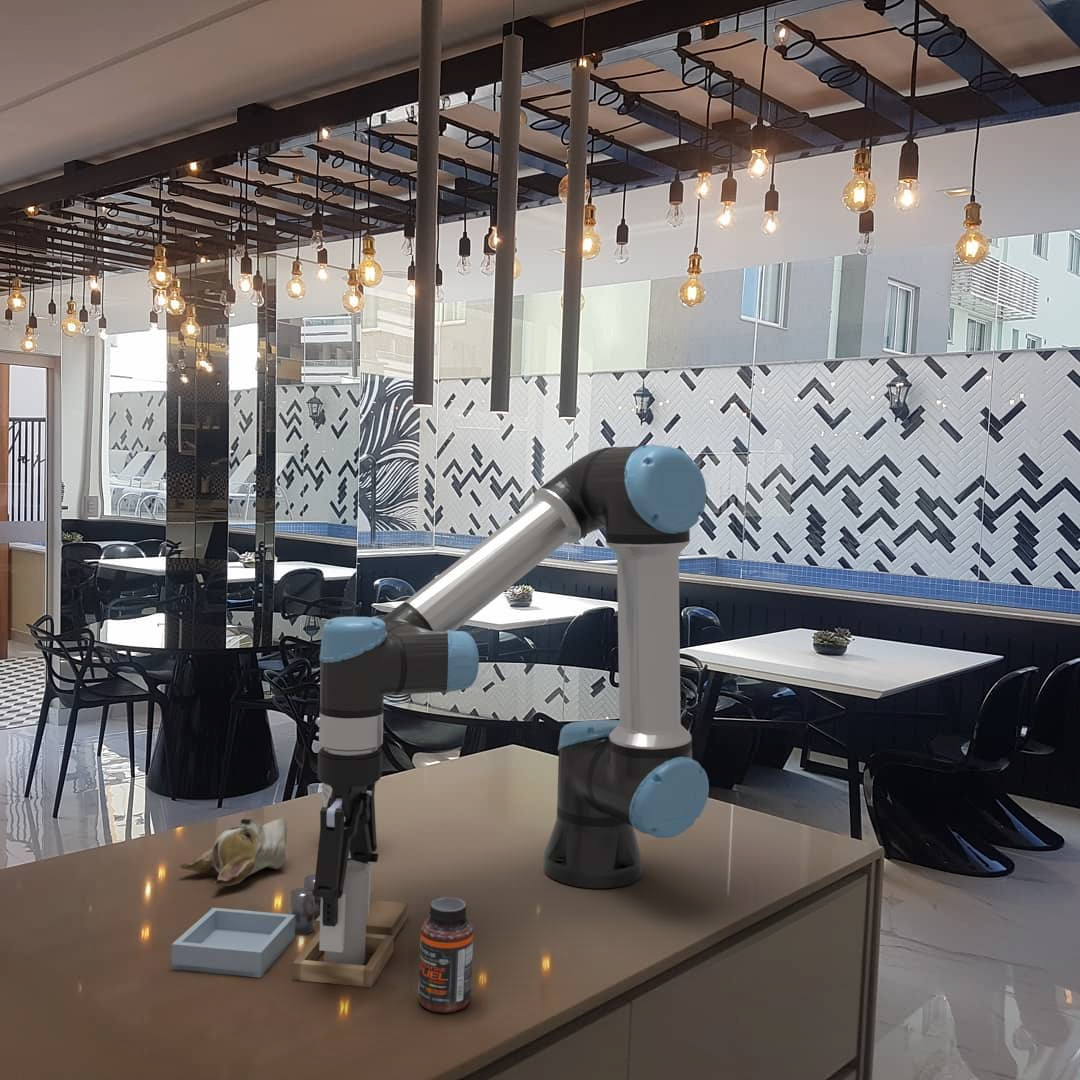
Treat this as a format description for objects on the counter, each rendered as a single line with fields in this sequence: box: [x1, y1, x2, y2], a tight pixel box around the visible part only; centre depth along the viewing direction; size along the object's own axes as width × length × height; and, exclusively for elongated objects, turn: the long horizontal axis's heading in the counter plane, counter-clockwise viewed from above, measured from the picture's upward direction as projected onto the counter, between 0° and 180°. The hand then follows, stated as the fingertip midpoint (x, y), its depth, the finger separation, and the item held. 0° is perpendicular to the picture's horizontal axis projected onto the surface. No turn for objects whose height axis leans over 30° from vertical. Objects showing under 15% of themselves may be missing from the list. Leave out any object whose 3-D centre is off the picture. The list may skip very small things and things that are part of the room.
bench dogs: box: [289, 873, 321, 936], centre depth 136 cm, size 3×8×5 cm, turn 173°
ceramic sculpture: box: [179, 816, 288, 887], centre depth 152 cm, size 11×9×15 cm
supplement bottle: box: [417, 896, 474, 1014], centre depth 116 cm, size 6×6×11 cm
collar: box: [291, 930, 395, 988], centre depth 124 cm, size 10×10×2 cm
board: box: [314, 899, 409, 939], centre depth 135 cm, size 10×8×2 cm
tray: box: [170, 907, 296, 979], centre depth 126 cm, size 11×11×3 cm
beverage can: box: [324, 860, 367, 965], centre depth 124 cm, size 5×5×12 cm
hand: (345, 931), depth 124 cm, fingers open, 9 cm apart
